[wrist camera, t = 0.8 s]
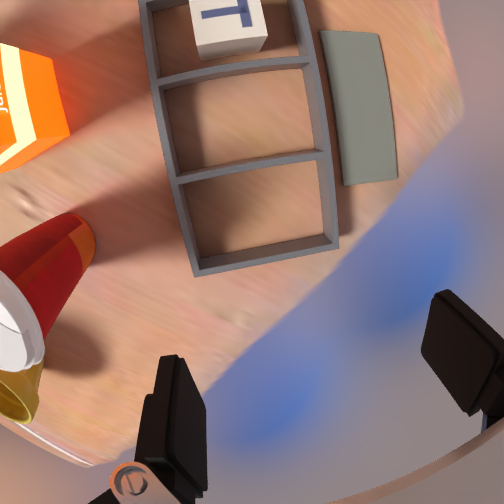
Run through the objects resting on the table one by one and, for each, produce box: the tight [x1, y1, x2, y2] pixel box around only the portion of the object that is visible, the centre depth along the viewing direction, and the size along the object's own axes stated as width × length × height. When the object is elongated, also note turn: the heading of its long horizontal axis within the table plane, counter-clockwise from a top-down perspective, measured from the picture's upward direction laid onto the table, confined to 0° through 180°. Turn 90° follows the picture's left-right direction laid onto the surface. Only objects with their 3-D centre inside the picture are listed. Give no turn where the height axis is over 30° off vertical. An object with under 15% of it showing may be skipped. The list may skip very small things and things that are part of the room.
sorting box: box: [138, 0, 339, 278], centre depth 22 cm, size 25×13×2 cm, turn 9°
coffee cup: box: [0, 214, 96, 372], centre depth 19 cm, size 8×8×15 cm
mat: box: [319, 30, 397, 186], centre depth 23 cm, size 15×6×1 cm, turn 9°
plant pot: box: [0, 358, 44, 424], centre depth 26 cm, size 10×10×10 cm
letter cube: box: [189, 0, 268, 61], centre depth 18 cm, size 5×5×5 cm
